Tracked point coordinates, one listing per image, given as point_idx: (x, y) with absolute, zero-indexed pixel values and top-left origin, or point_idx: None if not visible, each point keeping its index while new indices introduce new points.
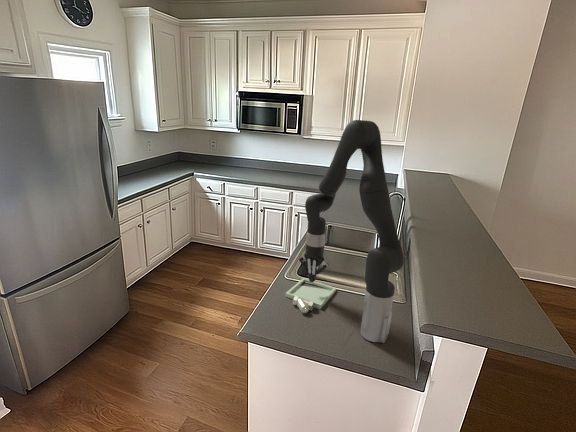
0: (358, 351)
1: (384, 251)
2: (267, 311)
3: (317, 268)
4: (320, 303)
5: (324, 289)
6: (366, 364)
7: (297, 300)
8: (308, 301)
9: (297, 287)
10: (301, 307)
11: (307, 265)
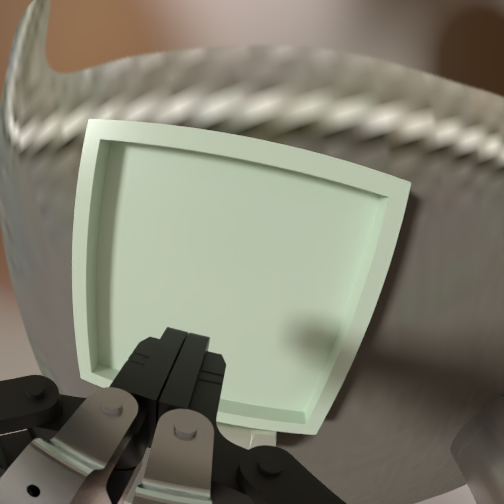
0: (419, 490)
1: None
2: None
3: (208, 500)
4: (311, 424)
5: (307, 198)
6: (423, 500)
7: None
8: None
9: (96, 256)
10: None
11: (7, 424)
